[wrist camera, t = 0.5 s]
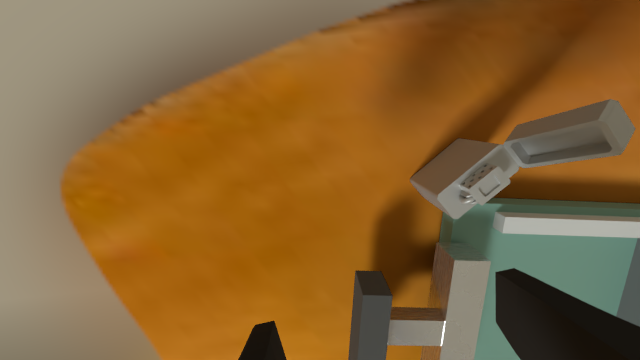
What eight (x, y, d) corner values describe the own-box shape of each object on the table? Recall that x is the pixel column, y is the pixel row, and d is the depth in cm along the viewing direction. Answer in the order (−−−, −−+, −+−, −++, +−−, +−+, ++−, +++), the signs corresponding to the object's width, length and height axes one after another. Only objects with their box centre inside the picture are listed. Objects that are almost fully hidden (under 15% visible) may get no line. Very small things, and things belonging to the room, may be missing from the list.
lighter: (424, 199, 20) (498, 252, 12) (408, 179, 20) (473, 221, 12) (514, 125, 19) (653, 132, 12) (498, 104, 19) (631, 97, 11)
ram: (448, 368, 21) (476, 418, 17) (344, 367, 20) (352, 418, 17) (468, 243, 19) (503, 271, 16) (354, 239, 19) (365, 267, 15)
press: (613, 380, 24) (673, 433, 20) (420, 378, 23) (443, 432, 19) (664, 204, 21) (746, 225, 17) (445, 195, 20) (478, 215, 16)
